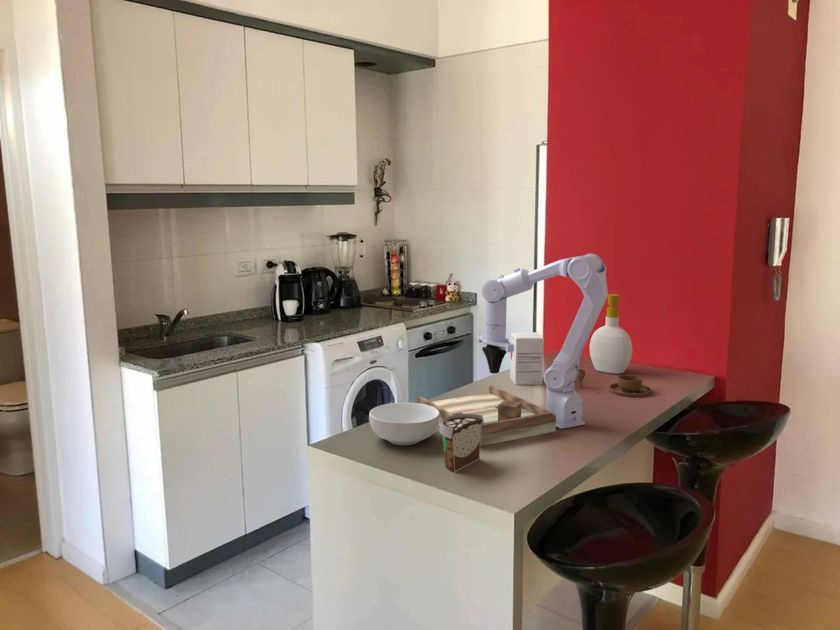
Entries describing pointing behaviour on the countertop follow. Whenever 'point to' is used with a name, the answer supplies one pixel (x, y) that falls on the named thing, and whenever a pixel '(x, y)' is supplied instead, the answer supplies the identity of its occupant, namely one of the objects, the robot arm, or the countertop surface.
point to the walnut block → (509, 410)
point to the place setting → (623, 385)
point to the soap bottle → (611, 343)
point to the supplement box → (527, 358)
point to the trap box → (487, 405)
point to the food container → (461, 440)
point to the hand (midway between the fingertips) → (494, 372)
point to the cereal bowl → (404, 422)
